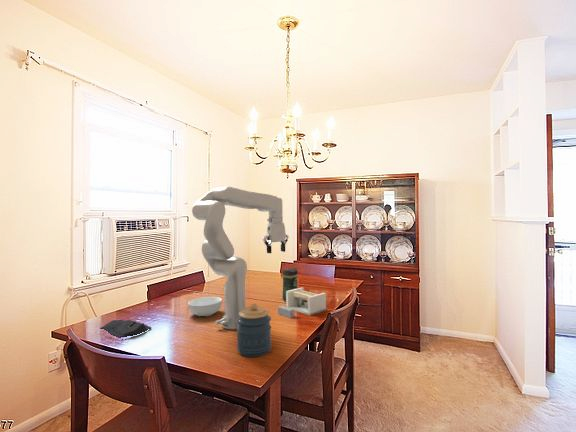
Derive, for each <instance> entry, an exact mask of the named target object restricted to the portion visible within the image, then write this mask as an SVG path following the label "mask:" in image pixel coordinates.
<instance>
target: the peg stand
mask: <svg viewBox="0 0 576 432" xmlns="http://www.w3.org/2000/svg"><path fill="white" fill-rule="evenodd" d="M299 290H303V291H305V287H302V286H301V287H299V288H298V287H297V289H293V290H289V291H286V301H285V302H286V303H285V304H286V305H285V307H288V308H291V309H294V312H295V311H296V312H298V313H302V314H303V315H307V316H312V315H317V314H319V313H322V312H326V311H327V295H326V292H321V293H316V294H317V295H313V296H310V297H308V301H307V300H306V301H305V300H303V299H300V298H297V297H293V292H295V291H299Z"/></svg>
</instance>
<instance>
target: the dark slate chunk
mask: <svg viewBox="0 0 576 432" xmlns="http://www.w3.org/2000/svg"><path fill="white" fill-rule="evenodd" d="M150 328H152V327H151V326H149V325H147V324H145V322H144V323H141V322H139V321H138V322H137V321H135V320H131V319H127V320H125V319H124V320H123V319H114V320H111V321H109V322H107V323H106V324H105V325H103V326H101V327H100V329H104V330H106V331H108V333H110V334H111V335H113V336H116V337H118V338H121V337H127V336H133V335H137V334H140V333H142V332H145V331H147V330H148V329H150ZM147 332H148V331H147ZM145 333H146V332H145Z"/></svg>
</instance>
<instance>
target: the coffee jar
mask: <svg viewBox="0 0 576 432" xmlns="http://www.w3.org/2000/svg"><path fill="white" fill-rule="evenodd" d="M298 271H299V270H298V269H297V268H295V267H290V268H286V269H283V270H282V274H281V275H282V276H281V277H282V300H283V301H285V302H286V291H289V290H293V289H297V288H298V277H299V276H298V275H299V273H298Z"/></svg>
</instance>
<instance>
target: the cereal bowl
mask: <svg viewBox="0 0 576 432" xmlns="http://www.w3.org/2000/svg"><path fill="white" fill-rule="evenodd" d="M187 303H188V305H187V306H188V307H187V308H188V310H189V312H190V313H191V314H193V315H195V316H198V317H200V316H207V317H211V316H213V315H214V314H215V313H217V312H218V311H219V310H221V308H222V306H223V299H222V298H221V297H218V296H202V297H197V298H194V299H191V300H189V301H188V302H187Z"/></svg>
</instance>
